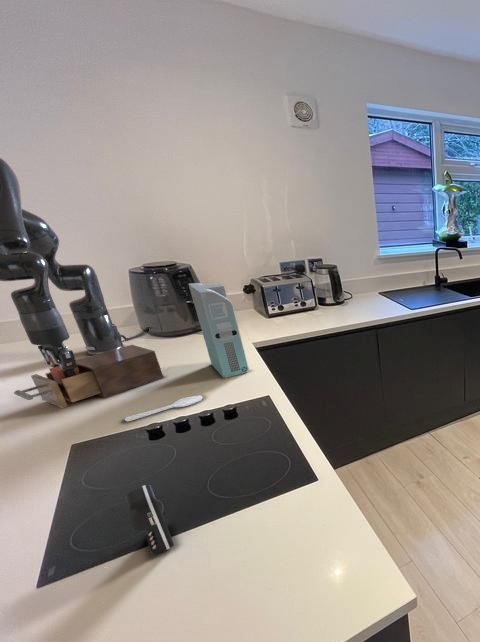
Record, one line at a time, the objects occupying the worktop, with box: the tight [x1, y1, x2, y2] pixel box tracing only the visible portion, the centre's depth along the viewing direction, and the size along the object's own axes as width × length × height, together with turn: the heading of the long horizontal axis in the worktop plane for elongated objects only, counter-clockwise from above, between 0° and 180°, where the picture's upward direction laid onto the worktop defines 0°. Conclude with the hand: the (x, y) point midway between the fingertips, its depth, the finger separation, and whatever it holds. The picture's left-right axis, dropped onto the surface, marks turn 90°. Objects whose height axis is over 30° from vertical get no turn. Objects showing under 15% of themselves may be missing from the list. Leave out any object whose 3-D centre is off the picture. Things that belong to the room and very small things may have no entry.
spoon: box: [124, 394, 204, 422], centre depth 116 cm, size 5×18×1 cm, turn 141°
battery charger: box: [124, 483, 175, 555], centre depth 71 cm, size 7×4×11 cm, turn 48°
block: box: [49, 364, 80, 385], centre depth 117 cm, size 4×4×4 cm
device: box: [188, 282, 250, 379], centre depth 138 cm, size 16×8×30 cm, turn 47°
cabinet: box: [75, 344, 164, 398], centre depth 129 cm, size 16×13×10 cm
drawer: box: [13, 366, 101, 409], centre depth 118 cm, size 20×12×8 cm, turn 157°
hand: (68, 379), depth 118 cm, fingers closed on block, 4 cm apart
